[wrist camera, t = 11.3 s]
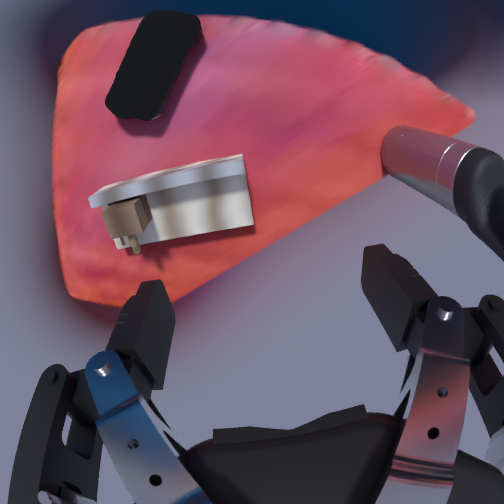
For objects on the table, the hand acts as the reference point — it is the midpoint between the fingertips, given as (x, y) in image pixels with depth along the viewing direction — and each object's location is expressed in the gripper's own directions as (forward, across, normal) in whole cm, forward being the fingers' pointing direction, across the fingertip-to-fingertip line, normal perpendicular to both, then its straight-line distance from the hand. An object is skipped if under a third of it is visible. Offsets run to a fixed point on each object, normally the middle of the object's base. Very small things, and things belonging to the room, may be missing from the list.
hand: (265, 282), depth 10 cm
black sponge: (+31, +10, -16) cm, 36 cm away
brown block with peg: (+28, +17, +6) cm, 33 cm away
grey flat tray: (+30, +11, +5) cm, 32 cm away
